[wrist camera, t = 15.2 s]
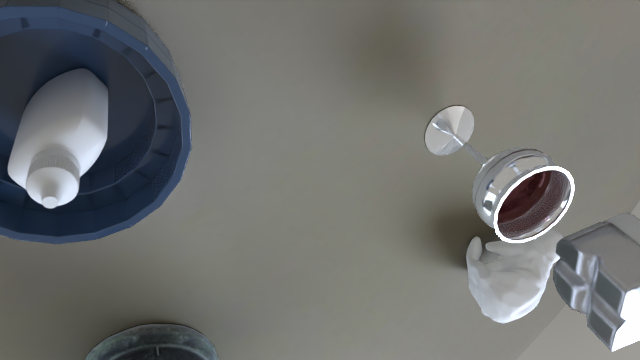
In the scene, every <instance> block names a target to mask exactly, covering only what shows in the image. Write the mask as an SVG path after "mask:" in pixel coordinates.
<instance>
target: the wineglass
mask: <svg viewBox="0 0 640 360" xmlns="http://www.w3.org/2000/svg"><path fill="white" fill-rule="evenodd" d="M473 129H474V118H473V114H472V113H471V112H470V111H469V109H467V108H465V107H463V106H452V107H448V108H446V109H444V110H442V111H441V112H439V113H438V114H437V115H436V116H435V117H434V118H433V119H432V120H431V122H430V124H429V125H428V127H427V130H426V133H425V143H426V146H427V148H428V149H429V150H430V151H431V152H432V153H434V154H436V155H447V154H451V153H453V152H455V151H457V150H459V149H460V148H461V147H462V146H463V147H464V148H465V149H466V150H467V151H468V152H469V153H470V154H471V155H472V156H473V157H474V158H475V160H476V161H477V162H478V163H479V164H480V165H481V168H480V169H479V171H478V173H477V176H476V178H475V181H474V183H473V186H472V199H473V203H474V206H475V210H476V212H477V214H478V215H479V217H480V218H481V219H482V220H483V221H484V222H485V223H486V224H487V225H488V226H490V227H492V228H494V229H495V230H496V234H497V235H498V236H499V237H500V238H501V239H502V240H504V241H507V242H510V243H520V242H525V241H528V240H531V239H534V238H536V237H538V236H540V235H541V234H543V233H545V232H546V231H548V230H549V229H550V228H551V227H552V226H554V225H555V224H556V223H557V222H558V221H559V219H560V218H561V217H562V216H563V215H564V213H565V212H566V210H567V208H568V206H569V205H570V203H571V201H572V197H573V193H574V182H573V178H572V177H571V175H570V174H569V172H568V171H566V170H564V169H562V168H560V167H557V166H556V164H555V163H554V161H553V160H552V159H551V158H550V157H549V156H547V155H546V154H544V153H542V152H540V151H538V150H536V149H532V148H526V147H514V148H511V149H507V150H504V151H502V152H500V153H497V154H496V155H494V156H492V157H490V158H489V159H488V158H486V157H485V156H484V155H482V154H481V153H480V152H479V151H477V150H476V149H475V148H473V147H472V146H471V145H470V144H468V143H467V141H468V139H469V138H470V137H471V134H472V132H473Z"/></svg>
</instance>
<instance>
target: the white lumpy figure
mask: <svg viewBox="0 0 640 360" xmlns="http://www.w3.org/2000/svg"><path fill="white" fill-rule="evenodd" d="M562 238H563V237H562V235H561V234H560V233H558V232H557V231H556V230H554V229H551V228H550V229H549V230H548V231H546V232H545V233H543V234H541V235H540V236H538V237H536V238H534V239H531V240H528V241H525V242H520V243H510V242H507V241H495V242H489V243H486V245H485V247H486V249H487V250H488V251H491V252H494V253H497V254H499V256H498V257H496V260H495V261H493V262H489V263H482V262H480V261H479V258H480V256H481V254H482V243H481V240H480V238H479V237H474V238H473V239H472V240H471V242H470V244H469V246H468V249H467V254H466V260H467V268H468V275H469V276H468V284H469V289H470V291H471V293H472V295H473V296H474V297H475V299H476V301H477V303H478V304H479V306H480V308H481V311H482V313H483V314H484V315H486V316H489V317H490V318H491V319H492V320H494V321H496V322H499V323H506V322H509V321H512V320H515V319H518V318H520V317H522V316H524V315H526V314H527V313H529V312H530V311H531V310H533V309H534V308H535V307H536V306H537V304H538V303H539V301H540V298H541V295H542V294H543V292H544V290H545V288H546V281H547V280H548V278H549V274H550V269H551V268H552V265H553V263H555V262H556V261H557V260H558V259H560V257H559V256H558V255H557V254H556V253H555V252H556V245H557V243H558V242H559V240H560V239H562Z"/></svg>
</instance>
